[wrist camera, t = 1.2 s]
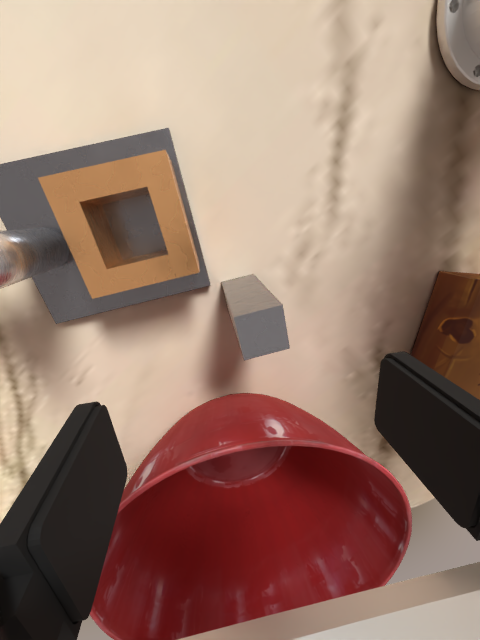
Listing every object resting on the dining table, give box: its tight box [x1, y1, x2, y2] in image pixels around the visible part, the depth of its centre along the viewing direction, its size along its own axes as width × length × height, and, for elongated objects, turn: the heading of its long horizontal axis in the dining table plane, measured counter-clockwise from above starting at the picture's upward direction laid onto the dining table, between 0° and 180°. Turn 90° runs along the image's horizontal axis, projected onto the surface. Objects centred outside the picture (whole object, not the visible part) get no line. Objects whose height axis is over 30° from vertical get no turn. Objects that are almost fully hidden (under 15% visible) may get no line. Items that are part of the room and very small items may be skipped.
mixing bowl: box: [90, 393, 412, 640], centre depth 30 cm, size 28×28×15 cm
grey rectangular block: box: [221, 274, 290, 360], centre depth 25 cm, size 4×4×11 cm
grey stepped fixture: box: [0, 128, 210, 324], centre depth 20 cm, size 25×14×13 cm, turn 102°
